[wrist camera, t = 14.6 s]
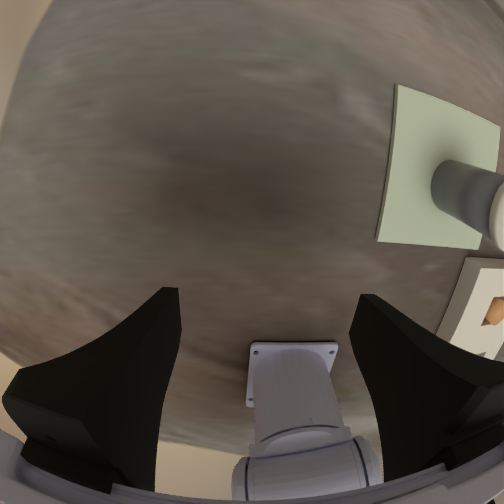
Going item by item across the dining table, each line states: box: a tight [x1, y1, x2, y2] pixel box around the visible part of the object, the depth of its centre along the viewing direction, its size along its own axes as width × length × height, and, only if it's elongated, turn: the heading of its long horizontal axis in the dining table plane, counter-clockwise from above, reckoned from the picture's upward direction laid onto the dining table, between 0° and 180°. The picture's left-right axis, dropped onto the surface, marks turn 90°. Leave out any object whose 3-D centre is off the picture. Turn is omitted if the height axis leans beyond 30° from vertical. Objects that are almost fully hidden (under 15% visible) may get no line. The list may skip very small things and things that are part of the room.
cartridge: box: [431, 160, 504, 251], centre depth 15 cm, size 5×5×8 cm
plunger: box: [485, 297, 504, 326], centre depth 23 cm, size 3×3×2 cm
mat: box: [375, 85, 500, 250], centre depth 19 cm, size 12×12×1 cm
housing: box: [436, 257, 504, 360], centre depth 25 cm, size 19×12×2 cm, turn 176°
